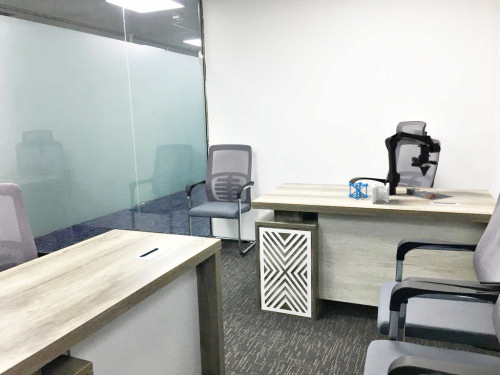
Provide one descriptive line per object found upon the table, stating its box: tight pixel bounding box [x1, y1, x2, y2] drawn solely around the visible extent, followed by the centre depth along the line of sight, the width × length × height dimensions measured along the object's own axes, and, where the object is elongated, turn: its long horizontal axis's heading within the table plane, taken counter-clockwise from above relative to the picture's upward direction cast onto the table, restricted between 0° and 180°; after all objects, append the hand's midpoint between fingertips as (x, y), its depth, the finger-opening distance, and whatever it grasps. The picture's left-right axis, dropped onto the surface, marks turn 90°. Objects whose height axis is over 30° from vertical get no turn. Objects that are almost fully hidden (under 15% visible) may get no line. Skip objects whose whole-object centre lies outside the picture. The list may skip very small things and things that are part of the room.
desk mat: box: [404, 190, 455, 201], centre depth 273 cm, size 20×25×1 cm
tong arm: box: [415, 190, 437, 198], centre depth 269 cm, size 14×2×2 cm, turn 31°
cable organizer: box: [370, 182, 390, 204], centre depth 259 cm, size 15×11×12 cm
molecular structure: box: [348, 181, 369, 200], centre depth 276 cm, size 10×10×10 cm
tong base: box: [405, 187, 432, 200], centre depth 270 cm, size 20×6×5 cm, turn 25°
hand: (423, 176), depth 282 cm, fingers closed
